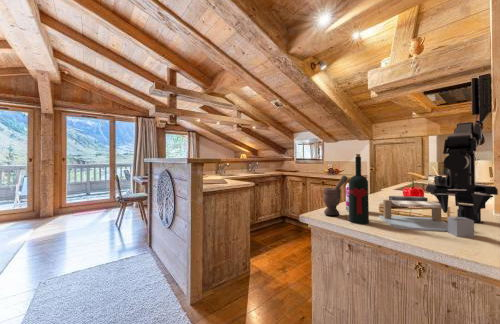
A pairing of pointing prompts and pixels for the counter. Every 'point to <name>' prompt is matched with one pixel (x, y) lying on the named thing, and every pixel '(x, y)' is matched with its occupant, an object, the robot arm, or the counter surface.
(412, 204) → the trapdoor
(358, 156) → the wine bottle
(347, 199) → the supplement can
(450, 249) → the counter surface
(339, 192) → the mortar and pestle
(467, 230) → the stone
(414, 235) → the counter surface
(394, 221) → the frame
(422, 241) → the counter surface
